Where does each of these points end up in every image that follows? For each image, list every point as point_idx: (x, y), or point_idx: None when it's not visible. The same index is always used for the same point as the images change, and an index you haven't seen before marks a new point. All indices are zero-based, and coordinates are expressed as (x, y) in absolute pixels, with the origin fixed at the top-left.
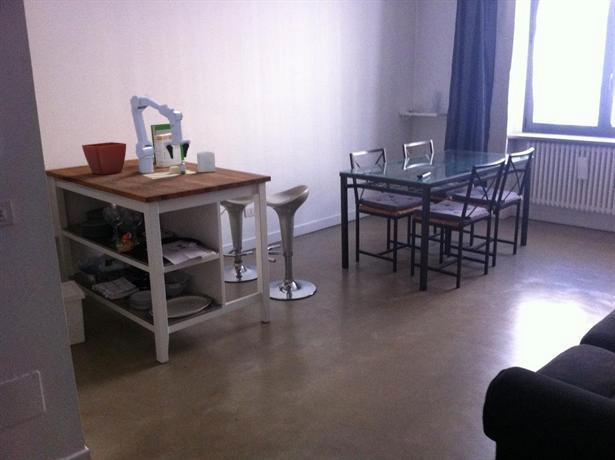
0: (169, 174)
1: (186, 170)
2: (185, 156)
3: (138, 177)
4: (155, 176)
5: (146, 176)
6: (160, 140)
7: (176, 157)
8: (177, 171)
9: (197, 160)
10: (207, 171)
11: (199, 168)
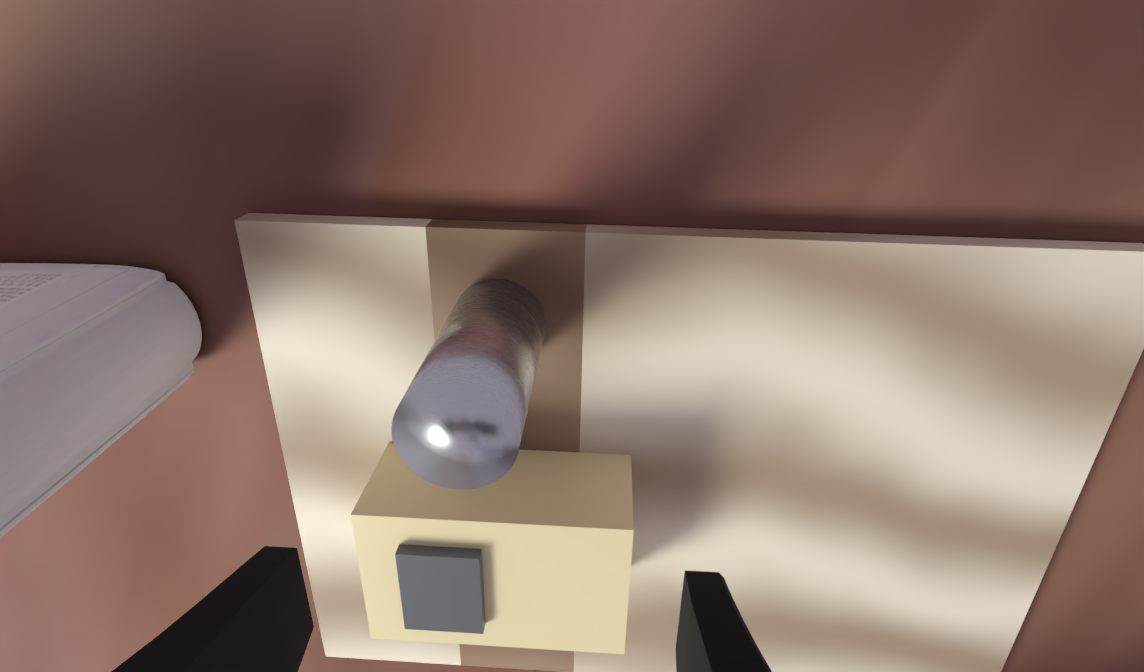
0: (699, 451)
1: (337, 573)
2: (276, 563)
3: (1070, 642)
4: (969, 448)
5: (1053, 548)
6: None
7: None
8: (544, 470)
9: (34, 502)
10: (33, 264)
11: (133, 329)
